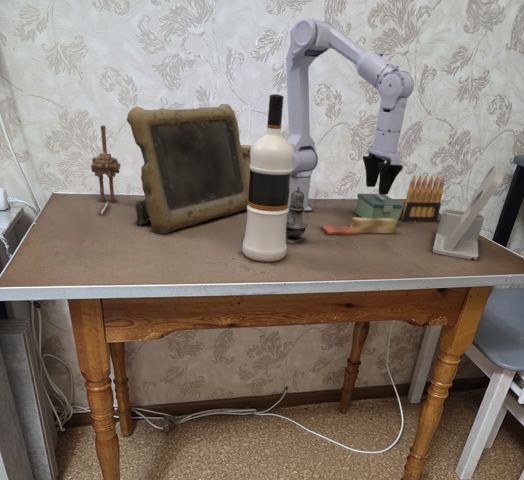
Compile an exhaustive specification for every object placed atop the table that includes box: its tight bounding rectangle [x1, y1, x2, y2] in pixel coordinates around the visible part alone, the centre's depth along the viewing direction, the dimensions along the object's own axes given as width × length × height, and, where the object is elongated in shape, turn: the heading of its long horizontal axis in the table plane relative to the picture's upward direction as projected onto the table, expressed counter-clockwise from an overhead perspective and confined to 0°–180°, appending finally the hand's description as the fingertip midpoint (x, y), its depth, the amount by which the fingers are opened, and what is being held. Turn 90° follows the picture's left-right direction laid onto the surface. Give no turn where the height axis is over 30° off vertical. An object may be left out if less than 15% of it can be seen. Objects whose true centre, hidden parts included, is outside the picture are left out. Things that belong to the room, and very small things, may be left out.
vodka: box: [241, 93, 294, 263], centre depth 94 cm, size 9×9×30 cm
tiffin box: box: [355, 192, 403, 226], centre depth 131 cm, size 8×12×6 cm, turn 12°
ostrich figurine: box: [90, 124, 121, 214], centre depth 119 cm, size 17×7×18 cm, turn 7°
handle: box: [240, 144, 252, 190], centre depth 132 cm, size 5×6×15 cm
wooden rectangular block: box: [321, 217, 397, 236], centre depth 120 cm, size 18×5×3 cm, turn 102°
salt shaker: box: [286, 186, 308, 245], centre depth 108 cm, size 6×6×12 cm
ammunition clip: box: [399, 174, 446, 222], centre depth 131 cm, size 11×2×12 cm, turn 104°
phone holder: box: [432, 165, 504, 261], centre depth 112 cm, size 17×10×18 cm, turn 159°
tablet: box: [126, 103, 249, 235], centre depth 115 cm, size 33×14×25 cm, turn 148°
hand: (376, 190), depth 119 cm, fingers open, 7 cm apart
